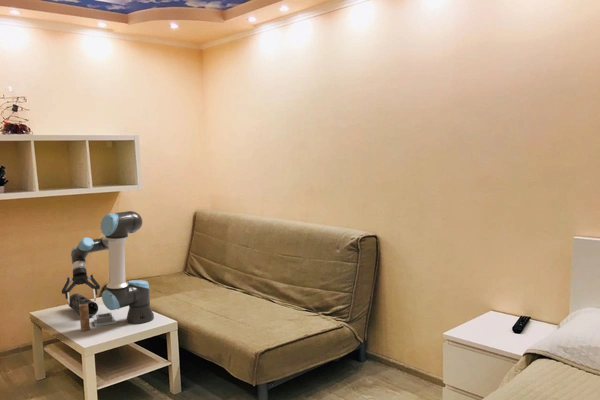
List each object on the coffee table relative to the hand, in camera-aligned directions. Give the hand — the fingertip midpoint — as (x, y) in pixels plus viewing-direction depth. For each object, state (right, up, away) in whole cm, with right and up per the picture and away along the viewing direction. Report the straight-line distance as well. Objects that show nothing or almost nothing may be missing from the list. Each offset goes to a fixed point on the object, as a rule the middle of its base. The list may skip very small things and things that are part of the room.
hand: (82, 301), depth 280 cm
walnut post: (+5, -14, -6) cm, 16 cm away
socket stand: (+11, -13, +5) cm, 18 cm away
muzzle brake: (-10, -13, +24) cm, 29 cm away
